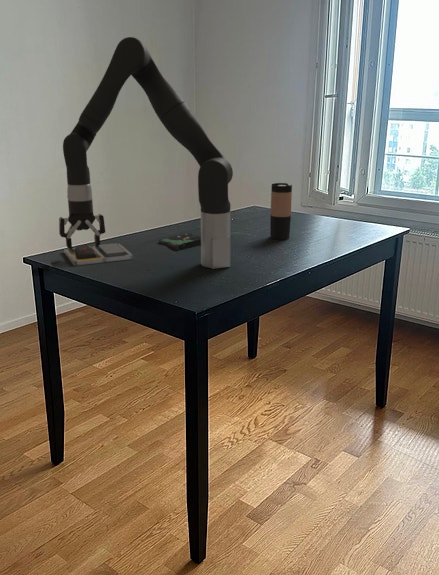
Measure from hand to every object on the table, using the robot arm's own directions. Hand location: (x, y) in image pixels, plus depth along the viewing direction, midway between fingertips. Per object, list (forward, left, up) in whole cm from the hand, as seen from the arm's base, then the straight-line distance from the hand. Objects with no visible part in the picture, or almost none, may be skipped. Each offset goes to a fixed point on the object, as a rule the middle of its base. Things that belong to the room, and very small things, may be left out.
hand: (83, 247), depth 189 cm
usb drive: (+1, 0, -3) cm, 3 cm away
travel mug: (+1, -74, -4) cm, 74 cm away
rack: (0, -4, -4) cm, 6 cm away
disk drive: (+6, -37, -5) cm, 38 cm away
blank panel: (0, -9, -3) cm, 10 cm away
